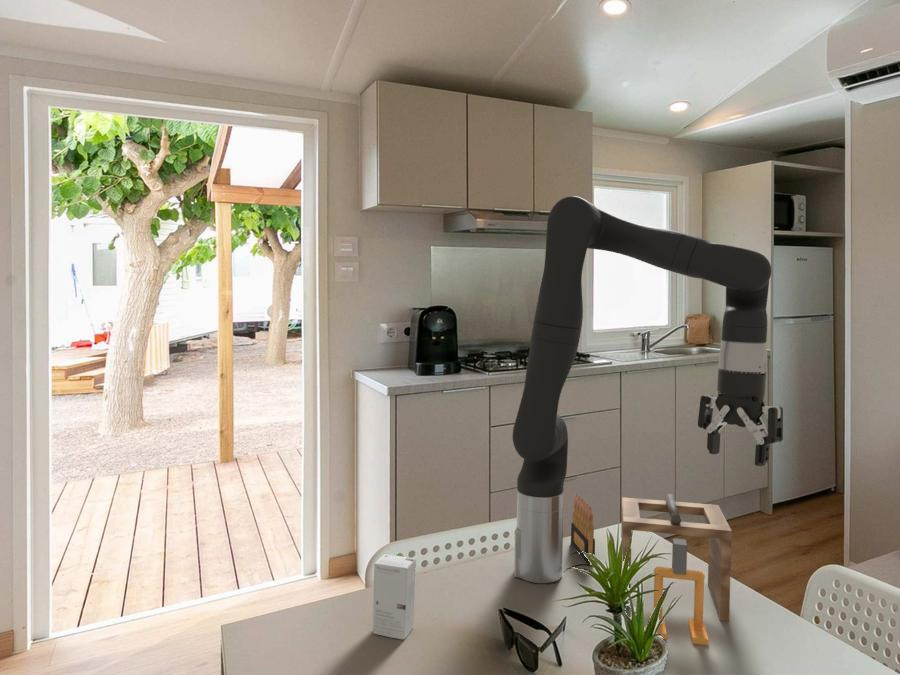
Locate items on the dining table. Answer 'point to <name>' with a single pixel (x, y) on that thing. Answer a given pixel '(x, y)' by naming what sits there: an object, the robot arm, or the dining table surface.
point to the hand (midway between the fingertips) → (736, 459)
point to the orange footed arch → (680, 572)
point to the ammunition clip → (582, 528)
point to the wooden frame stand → (713, 529)
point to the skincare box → (394, 596)
